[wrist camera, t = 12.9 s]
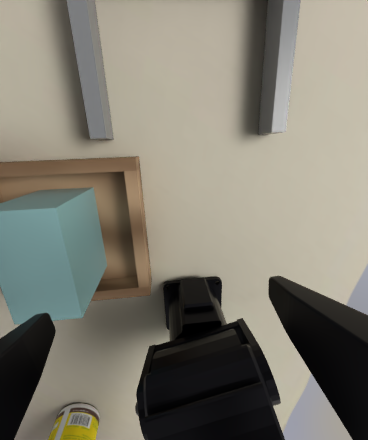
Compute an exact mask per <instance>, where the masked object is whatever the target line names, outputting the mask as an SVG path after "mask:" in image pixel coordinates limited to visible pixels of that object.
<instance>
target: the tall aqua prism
mask: <svg viewBox="0 0 368 440" xmlns="http://www.w3.org/2000/svg"><path fill="white" fill-rule="evenodd" d="M106 267H107V261H106V255H105V250H104V244H103V238H102V233H101V227H100V221H99V216H98V210H97V204H96V199H95V193H94V187H88V188H69V189H49V190H39V191H36V192H33V193H30V194H27V195H24V196H21V197H18V198H15V199H12V200H9V201H6V202H3V203H0V287H1V290H2V292H3V295H4V298H5V300H6V303H7V306H8V308H9V311H10V313H11V316H12V319H13V321H14V324H22V323H24V322H25V321H27V320H28V319H30V318H31V317H33V316H34V315H36V314H40V313H48V314H49V315H50V317H51V319H52V321H55V320H65V319H75V318H83V316H84V314H85V312H86V309H87V307H88V305H89V303H90V301H91V299H92V297H93V295H94V293H95V290H96V288H97V286H98V284H99V282H100V280H101V278H102V276H103V274H104V271H105V269H106Z"/></svg>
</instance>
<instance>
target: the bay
mask: <svg viewBox="0 0 368 440" xmlns="http://www.w3.org/2000/svg"><path fill="white" fill-rule="evenodd" d="M67 6H68V12H69V17H70V23H71V29H72V35H73V41H74V47H75V53H76V59H77V64H78V70H79V76H80V82H81V88H82V94H83V100H84V106H85V111H86V117H87V123H88V129H89V135H90V139H96V140H114V138H113V131H112V123H111V116H110V109H109V101H108V94H107V87H106V79H105V72H104V65H103V57H102V50H101V43H100V35H99V28H98V21H97V13H96V6H95V0H67ZM299 9H300V0H268V6H267V20H266V34H265V48H264V61H263V75H262V89H261V103H260V117H259V131H258V134H275V133H282V132H286V126H287V117H288V108H289V99H290V90H291V81H292V72H293V63H294V54H295V45H296V36H297V27H298V18H299Z"/></svg>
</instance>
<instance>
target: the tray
mask: <svg viewBox="0 0 368 440" xmlns="http://www.w3.org/2000/svg"><path fill="white" fill-rule="evenodd" d="M88 187H94V193H95V199H96V204H97V210H98V216H99V221H100V227H101V233H102V238H103V244H104V250H105V255H106V261H107V267H106V269H105V271H104V274H103V276H102V278H101V280H100V282H99V284H98V286H97V288H96V290H95V293H94V295H93V297H92V299H91V301H96V300H106V299H117V298H128V297H138V296H149V295H150V292H151V270H150V261H149V251H148V241H147V231H146V221H145V212H144V202H143V192H142V182H141V173H140V163H139V157H117V158H93V159H69V160H45V161H21V162H0V203H3V202H6V201H9V200H12V199H15V198H18V197H21V196H24V195H27V194H30V193H33V192H36V191H39V190H49V189H69V188H88Z"/></svg>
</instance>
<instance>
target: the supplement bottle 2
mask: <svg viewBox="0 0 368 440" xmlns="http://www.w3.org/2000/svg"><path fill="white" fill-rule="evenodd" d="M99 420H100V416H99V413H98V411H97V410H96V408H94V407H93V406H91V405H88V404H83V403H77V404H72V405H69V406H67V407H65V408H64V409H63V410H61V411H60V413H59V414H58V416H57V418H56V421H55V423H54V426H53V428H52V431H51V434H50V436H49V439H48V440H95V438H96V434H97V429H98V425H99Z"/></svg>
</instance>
